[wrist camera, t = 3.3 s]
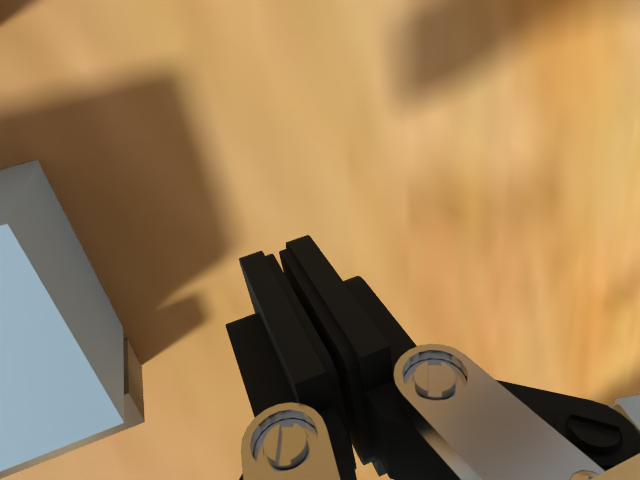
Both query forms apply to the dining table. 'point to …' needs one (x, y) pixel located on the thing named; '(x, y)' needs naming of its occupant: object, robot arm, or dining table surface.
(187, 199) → the dining table surface
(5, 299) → the slate block
